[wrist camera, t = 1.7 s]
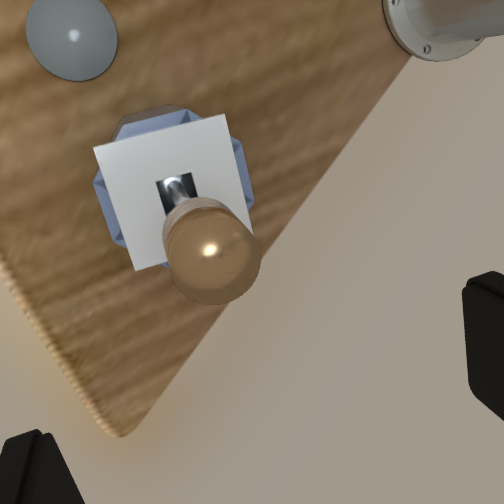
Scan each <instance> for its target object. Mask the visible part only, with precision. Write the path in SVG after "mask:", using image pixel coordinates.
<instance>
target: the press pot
mask: <svg viewBox="0 0 504 504" xmlns="http://www.w3.org/2000/svg"><path fill="white" fill-rule="evenodd" d="M93 149H94V152H95V155H96V158H97V161H98V164H99V165H98V168H97V171H96V174H95V177H94V180H93V185H94V188H95V191H96V194H97V197H98V200H99V202H100V205H101V208H102V211H103V214H104V217H105V219H106V222H107V225H108V228H109V231H110V234H111V237H112V239H113V242H114V243H117V244H119V245H121V246H123V247H125V248H127V249H128V251H129V254H130V257H131V260H132V263H133V266H134V269H135V271H137V270H141V269H144V268H147V267H150V266H154V265H157V264H160V265H162V266H165V267H167V268H169V265H168V261H167V257H166V253H165V250H164V246H163V242H162V230H163V225H164V222H165V220H166V218H167V216H168V215H169V213H167V214H165V212H164V208H163V205H162V202H161V198H160V195H159V192H158V189H157V185H156V182H157V181H160V180H164V179H168V178H171V177H175V176H179V175H182V174H186V173H190V172H191V176H192V179H193V183H194V187H195V190H196V194H197V197H208V198H213V199H216V200H218V201H220V202H222V203H223V204H225V205H226V206H227V207H228V208H229V209H230V210H231V211H232V212H233V213H234V214H235V215H236V216H237V217H238V219H239V220H240V221H241V222H242V223H243V224H244V225H245V226H246V227H247V228H248V229H249V230H250V232H251V233H252V234H253V231H252V227H251V223H250V219H249V215H248V211H249V210H250V208H251V206H252V205H253V203H254V201H255V200H254V196H253V191H252V187H251V183H250V178H249V174H248V170H247V165H246V161H245V157H244V152H243V148H242V144H241V142H239V141H238V140H236V139H235V138H233V137H231V136H230V135H229V131H228V126H227V122H226V118H225V114H223V113H222V114H218V115H214V116H210V117H206V118H201V117H199V116H198V115H196V114H195V113H193V112H191V111H190V110H188V109H186V108H181V107H177V106H173V105H165V106H161V107H157V108H153V109H149V110H145V111H141V112H137V113H133V114H129V115H125V116H123V117H122V119H121V121H120V123H119V125H118V127H117V129H116V130H115V132H114V134H113V136H112V138H111V140H110V142H109V143H105V144H101V145H97V146H94V147H93Z"/></svg>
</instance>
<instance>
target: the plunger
mask: <svg viewBox="0 0 504 504" xmlns="http://www.w3.org/2000/svg"><path fill="white" fill-rule="evenodd" d="M156 185H157V189H158V192H159V195H160V198H161V202H162V205H163V208H164V212H165V214H167V213H169V215H168V216H167V218H166V220H165V222H164V225H163V230H162V242H163V246H164V250H165V253H166V257H167V261H168V265H169V268H170V272H171V276H172V278H173V281H174V283H175V285H176V286H177V288H178V289H179V290H180V291H181V292H182V293H183V294H184V295H185V296H186V297H188V298H189V299H191V300H193V301H195V302H198V303H201V304H206V305H219V304H224V303H228V302H230V301H233V300H235V299H237V298H238V297H239V296H241V295H243V294H244V293H245V292H246V291H247V290H248V289H249V288H250V287H251V286H252V284H253V283H254V281H255V279H256V277H257V275H258V273H259V269H260V264H261V253H260V248H259V245H258V242H257V240H256V238H255V237H254V235H253V234H252V233H251V232H250V230H249V229H248V228H247V227H246V226H245V225H244V224H243V223H242V222H241V221H240V220H239V219H238V217H237V216H236V215H235V214H234V213H233V212H232V211H231V210H230V209H229V208H228V207H227V206H226V205H225V204H223V203H222V202H220V201H218V200H216V199H213V198H208V197H197V194H196V190H195V187H194V183H193V179H192V176H191V172H190V173H186V174H182V175H179V176H175V177H171V178H168V179H164V180H160V181H157V182H156Z"/></svg>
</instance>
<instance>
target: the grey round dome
mask: <svg viewBox="0 0 504 504" xmlns="http://www.w3.org/2000/svg"><path fill="white" fill-rule="evenodd" d="M26 36H27V41H28V44H29V47H30V49H31V51H32V53H33V55H34V56H35V58H36V59H37V60H38V62H39V63H40V64H41V65H42V66H43V67H44V68H45V69H47V70H48V71H49V72H51V73H52V74H54V75H56V76H58V77H61V78H63V79H67V80H72V81H85V80H89V79H93V78H95V77H97V76H99V75H100V74H102V73H103V72H104V71H105V70H106V69H107V68H108V67H109V66H110V64H111V63H112V61H113V59H114V57H115V54H116V50H117V31H116V27H115V24H114V21H113V19H112V17H111V15H110V13H109V12H108V10H107V9H106V7H105V6H104V5H103V4H102V3H101V2H100V1H99V0H35V1H34V2H33V4H32V6H31V7H30V9H29V12H28V15H27V19H26Z"/></svg>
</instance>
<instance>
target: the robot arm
mask: <svg viewBox="0 0 504 504" xmlns="http://www.w3.org/2000/svg"><path fill="white" fill-rule="evenodd" d="M391 1H393V4H392V2H391ZM383 8H384V12H385V16H386V20H387V23H388V25H389V28H390V30H391V32H392V34H393V36H394V37H395V39H396V40H397V42H398V43H399V44H400V45H401V46H402V47H403V48H404V49H405V50H406V51H407V52H409V53H410V54H412V55H413V56H415V57H417V58H420V59H423V60H426V61H436V62H439V61H448V60H452V59H455V58H459V57H461V56H463V55H465V54H467V53H469V52H470V51H472V50H473V49H474V48H475V47H477V46H478V45H479V44H480V43H481V42H482V41H483V40H484V39H485V38H486V37H492V36H499V35H504V0H383ZM423 49H424V51H423ZM462 302H463V315H464V329H465V341H466V356H467V369H468V382H469V386H470V389H471V391H472V393H473V394H474V395H475V397H476V398H477V399H479V400H480V401H481V402H482V403H483V404H484V405H486V406H487V407H488V408H489V409H490V410H492V411H493V412H494V413H495V414H496V415H497V416H499V417H500V418H501V419H502V420H503V421H504V275H503V274H501V273H498V272H495V271H490V272H487V273H484V274H481V275H479V276H476V277H473V278H470V279H469V280H468V281H467V284H466V287H464V288H463V290H462ZM0 504H85V503H84V500H83V498H82V496H81V494H80V492H79V490H78V488H77V486H76V484H75V482H74V479H73V477H72V475H71V473H70V471H69V469H68V467H67V465H66V463H65V460H64V458H63V456H62V454H61V452H60V450H59V448H58V446H57V443H56V441H55V439H54V437H53V436H52V434H51V433H46V434H42V433H41V432H40V431H39V430H38V429H35V430H32V431H29V432H26V433H23V434H21V435H17V436H15V437H12V438H9V439H7V440H6V441H5V443H4V446H3V449H2V452H1V455H0Z"/></svg>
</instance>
